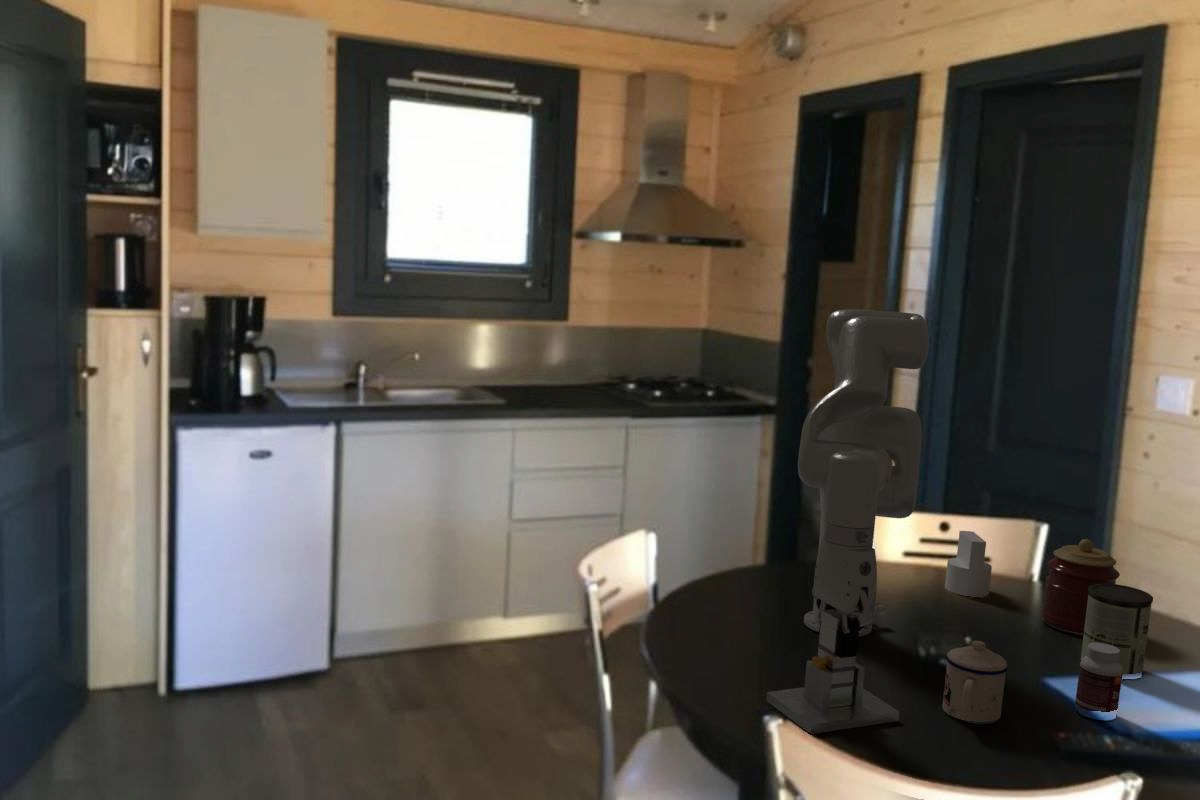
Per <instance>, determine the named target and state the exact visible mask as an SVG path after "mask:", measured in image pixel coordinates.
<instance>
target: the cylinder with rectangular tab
mask: <svg viewBox="0 0 1200 800" xmlns="http://www.w3.org/2000/svg"><path fill="white" fill-rule="evenodd" d="M986 550H987V541H986V540H984V539H983V538H982V537H980V535H978V534H977V533H976V532H975V531H970V530H959V534H958V541H957V552H956V557H952V558H949V559H948V560H947V563H946V564H947V565H946V575H945V583H944V589H945V588H946V589H947V590H949V591H951V592H954V593H957V594H960V595H964V596H963V597H965V596H972V597H971V598H974V597H980V598H984V597H983V596H986V595H988V594H989V595H990V587H991V578H992V571H993V570H992V568H993V566H992V564H990V563H989V562H986V561H985V558H986V557H985V556H986ZM946 589H945V590H946ZM947 590H946V591H947ZM949 591H948V592H949ZM951 592H950V593H951ZM960 595H959V596H960ZM989 595H988V596H989ZM986 597H987V596H986Z"/></svg>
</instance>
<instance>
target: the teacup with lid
mask: <svg viewBox="0 0 1200 800" xmlns="http://www.w3.org/2000/svg"><path fill="white" fill-rule="evenodd" d="M986 646H987V645H986V643H985V642H984V641H981V640H973V641H972V642H971V645H967V646H963V647H962V646H961V647H955V648H952V649H950V650H949V651H948V652H947V654H946V656H945V659H946V661H947V662H946V670H945V680H944V689H943V699H942V710H943V711H944V713H945V712H946V713H947V714H946V715H948V714H949V715H951V716H953V717H955V718H958V719H961V720H966V721H974V722H989V721H994V720H997V719H999V718H1000V719H1001V717H1000V716H1002V708H1003V706H1002V705H1003V697H1004V689H1005V681H1006V673H1007V671H1008V669H1009V666H1008V662H1007V661H1006V659H1005V658H1004V657H1003V656H1001V655H1000V654H997V653H996V652H993V651H992V650H990V649H989V648H987V647H986ZM949 715H948V716H949Z"/></svg>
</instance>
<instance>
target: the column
mask: <svg viewBox="0 0 1200 800" xmlns="http://www.w3.org/2000/svg"><path fill="white" fill-rule="evenodd" d="M853 619H854V616H850V622H851V621H852V620H853ZM840 631H843V630H842V612H841V611H840V610H838V609H831V610H822V615H821V626H820V637H819V636H818V639H819V643H817V648H818V649H817V656H820V657H821V658H823V659H824V660H826V661H827V663H826V668H827V669H828V670H830V671H831V672H832V682H831V693H830V704H829V708H833V707H840V706H847V705H851V702H852V699H853V697H852V689H853V686H854V682H853V679H854V670H855V668H856V666H855V662H856V658H857V657H856V656H857V655H856V656H854V657H846V658H840V657H838V655H837V654H838V653H837V652H838V641H839V632H840Z"/></svg>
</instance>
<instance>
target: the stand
mask: <svg viewBox="0 0 1200 800" xmlns="http://www.w3.org/2000/svg"><path fill="white" fill-rule="evenodd" d="M811 657H812V659H811V660H806V665H805V675H804V676H805V677H804V678H805V679H804V687H795V688H788V689H781V690H779V689H778V690H774V691H773V690H771V691H767V692H766V699H765V701H766V702H767V703H768V704H769V705H770V706H772V707H773V708H775V709H776V710H777V711H778V712H779V713H781V714H783V715H784V716H785V717H787V718H788V719H789V720H790V721H792V723H795V724H796V725H797V726H798V727H800V728H801V727H802V728H803V729H802V728H801V729H802V730H804V729H805V730H806V731H808V732H809V733H811V734H810V735H814V734H820V733H827V732H832V731H833V732H834V731H841V730H848V729H855V728H860V727H866V726H873V725H874V726H875V725H879V724H880V725H881V724H887V723H888V724H889V723H893V722H894V723H895V722H899V719H900V710H898V709H896V708H895V707H893V706H891V705H890V704H888V703H887V702H886V701H883V700H882V699H881V698H879V697H877V696H875V694H873V693H871V692H869V691H868V690H866V689H865V688H864V685H865V675H866V674H865V673H866V667H864V666H862V665H861V664H859V663H858V662H856V661H855V666H856V668H855V670H854V679H853V682H854V686H853V689H852V697H853V699H852V702H851V705H847V706H840V707H833V708H829V704H830V693H831V682H832V672H831V671H830V670H828V669H827V668H826V663H827V661H826V660H824V659H823V658H821V657H820V656H818V655H817V656H811ZM805 730H804V731H805ZM806 731H805V732H806ZM808 732H807V733H808ZM809 733H808V734H809Z"/></svg>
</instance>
